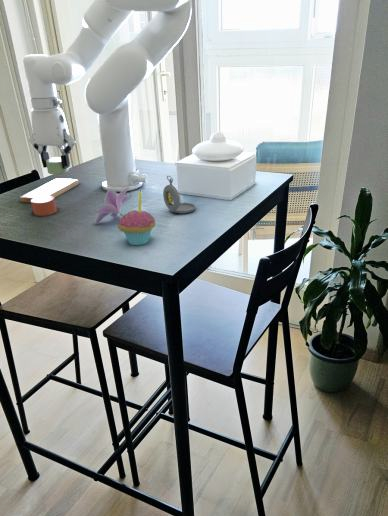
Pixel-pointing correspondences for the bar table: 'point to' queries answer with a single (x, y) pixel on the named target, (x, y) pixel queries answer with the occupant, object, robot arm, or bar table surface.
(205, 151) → the butter dish
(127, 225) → the cupcake
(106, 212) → the lily
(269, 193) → the bar table surface
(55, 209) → the terracotta disc
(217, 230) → the bar table surface
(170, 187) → the pocket watch
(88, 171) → the bar table surface
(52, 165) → the sage disc
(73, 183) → the board
